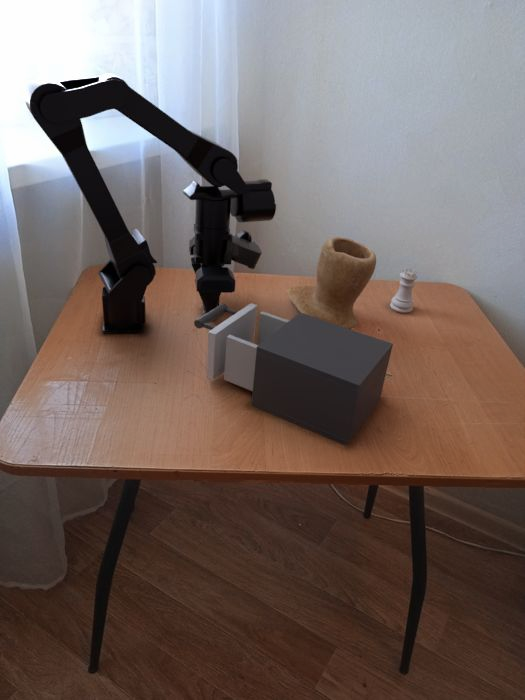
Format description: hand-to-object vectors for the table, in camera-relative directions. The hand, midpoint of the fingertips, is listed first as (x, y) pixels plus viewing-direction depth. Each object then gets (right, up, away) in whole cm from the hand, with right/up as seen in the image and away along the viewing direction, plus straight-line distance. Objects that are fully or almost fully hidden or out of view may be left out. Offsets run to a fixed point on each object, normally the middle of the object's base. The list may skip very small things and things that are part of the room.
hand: (208, 306), depth 101 cm
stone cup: (+22, -2, +3) cm, 22 cm away
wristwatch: (0, -1, +1) cm, 1 cm away
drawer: (+8, -11, -16) cm, 21 cm away
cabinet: (+18, -15, -20) cm, 31 cm away
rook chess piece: (+37, 0, +9) cm, 38 cm away
